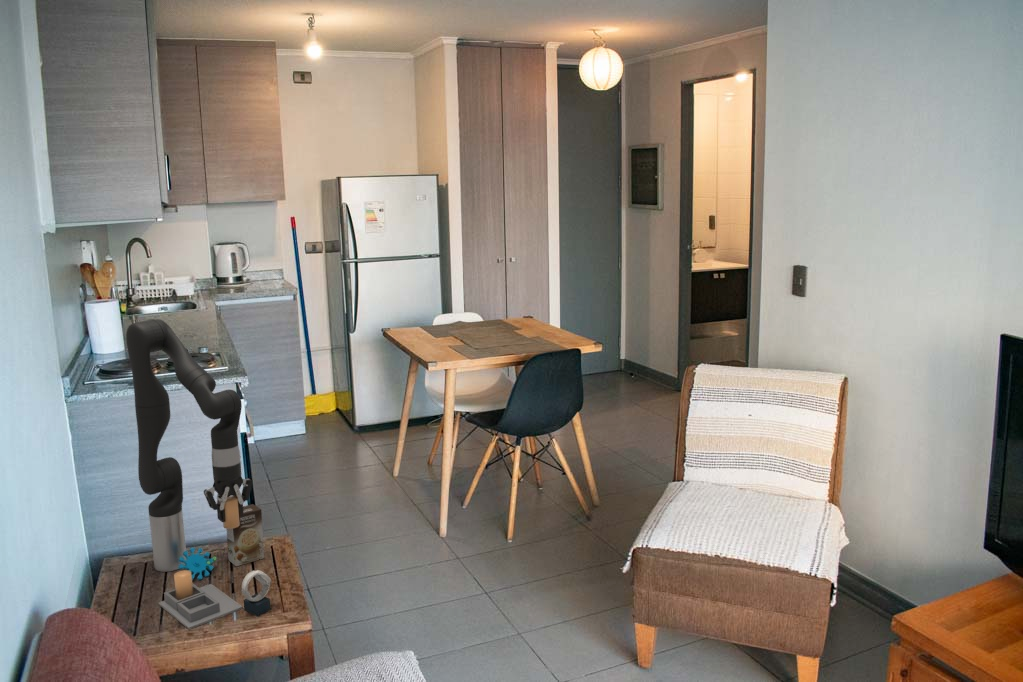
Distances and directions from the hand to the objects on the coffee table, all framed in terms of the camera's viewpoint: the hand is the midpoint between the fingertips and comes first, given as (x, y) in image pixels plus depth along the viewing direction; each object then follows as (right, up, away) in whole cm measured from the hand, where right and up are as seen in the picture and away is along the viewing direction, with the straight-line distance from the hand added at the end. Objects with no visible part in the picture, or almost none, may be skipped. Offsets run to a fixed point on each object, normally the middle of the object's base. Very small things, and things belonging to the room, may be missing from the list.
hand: (230, 518), depth 237 cm
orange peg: (0, -2, 0) cm, 2 cm away
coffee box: (-2, -17, +20) cm, 26 cm away
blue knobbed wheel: (-13, -19, +10) cm, 25 cm away
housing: (-5, -22, -9) cm, 24 cm away
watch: (+11, -23, -11) cm, 27 cm away
